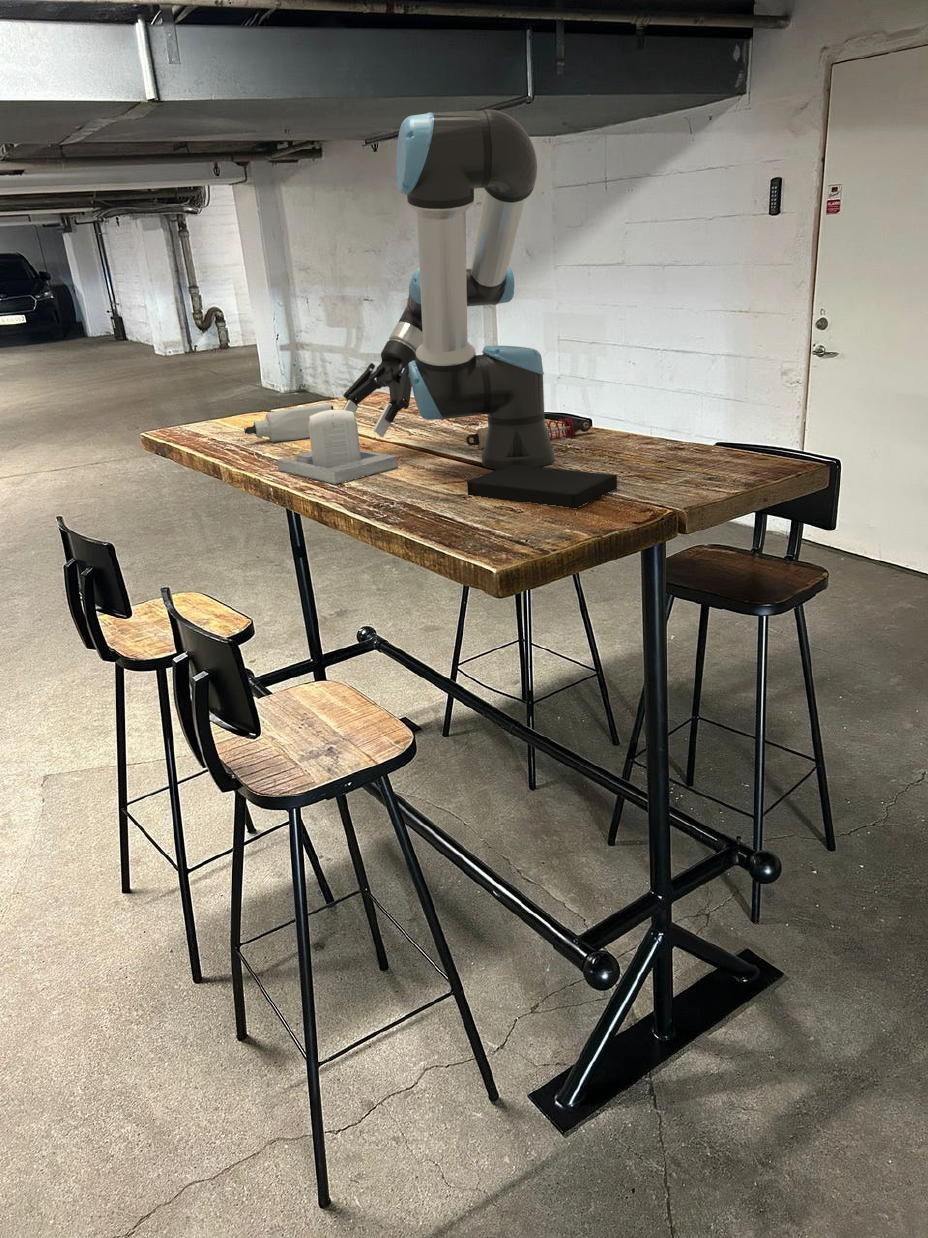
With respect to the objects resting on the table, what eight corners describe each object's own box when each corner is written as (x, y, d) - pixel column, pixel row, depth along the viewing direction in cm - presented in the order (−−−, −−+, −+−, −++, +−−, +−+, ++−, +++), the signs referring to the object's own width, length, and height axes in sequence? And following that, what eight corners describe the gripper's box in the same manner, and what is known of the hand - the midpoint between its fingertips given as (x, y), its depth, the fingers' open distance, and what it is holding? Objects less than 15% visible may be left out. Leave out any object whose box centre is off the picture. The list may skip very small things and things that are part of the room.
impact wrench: (233, 422, 241) (243, 413, 218) (315, 411, 248) (333, 401, 225) (239, 452, 242) (250, 446, 219) (320, 440, 250) (339, 433, 226)
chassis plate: (398, 467, 188) (396, 456, 187) (335, 484, 179) (334, 472, 178) (338, 455, 204) (337, 445, 203) (278, 470, 194) (276, 459, 193)
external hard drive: (575, 511, 150) (575, 494, 149) (467, 497, 164) (466, 481, 163) (617, 490, 161) (616, 474, 159) (512, 478, 174) (511, 463, 173)
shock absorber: (584, 417, 207) (462, 432, 200) (592, 412, 203) (467, 427, 195) (587, 437, 208) (465, 453, 200) (595, 432, 203) (470, 449, 196)
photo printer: (361, 463, 193) (354, 405, 189) (363, 467, 190) (356, 409, 185) (313, 469, 192) (305, 411, 187) (314, 473, 188) (306, 414, 183)
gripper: (451, 361, 190) (406, 446, 187) (378, 357, 207) (336, 435, 204) (430, 339, 184) (383, 426, 181) (357, 337, 202) (313, 416, 198)
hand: (358, 431), depth 193 cm, fingers open, 13 cm apart
